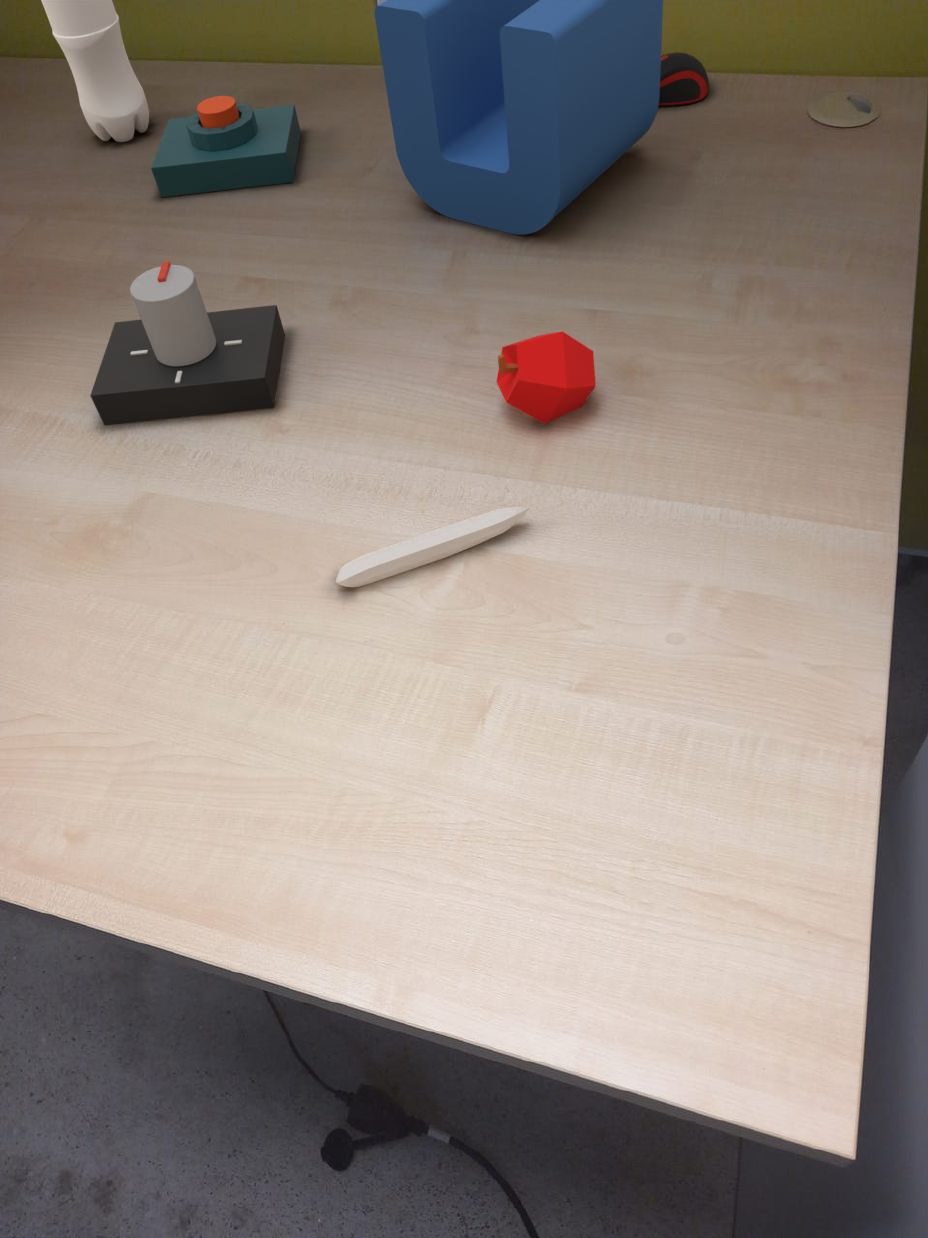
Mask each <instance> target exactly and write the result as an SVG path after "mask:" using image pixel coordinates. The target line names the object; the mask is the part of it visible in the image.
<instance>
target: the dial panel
mask: <svg viewBox="0 0 928 1238" xmlns="http://www.w3.org/2000/svg"><path fill="white" fill-rule="evenodd" d="M207 314H208V317H209V320H210V323H211V326H212V329H213V332H214V335H215V338H216V346H215V348H214V350H213V351H212V353H211V354H210V355H208V356H207V357H206V358H204V359H203V360H201V361H199V362H196V363H194V364H190V365H186V366H178V367H177V366H168V365H165V364H163V363H161V362H160V361H159V360H158V359H157V358H156V355H155V353H154V350H153V348H152V345H151V343H150V340H149V338H148V335H147V333H146V330H145V328H144V325H143V323H142V320H141V319H133V320H124V321H115V322H114V324H113V327H112V330H111V333H110V335H109V339H108V342H107V345H106V348H105V350H104V354H103V356H102V359H101V362H100V366H99V368H98V371H97V374H96V377H95V380H94V383H93V386H92V388H91V392H90V398H91V400H92V403H93V405H94V406H95V408H96V412H97V413H98V416H99V417H100V419H101V421H102V423H103V425H104V426H109V425H120V424H129V423H139V422H149V421H158V420H159V421H160V420H169V419H179V418H189V417H198V416H207V415H209V416H210V415H219V414H227V413H238V412H239V413H240V412H248V411H258V410H269V409H274V408H275V406H276V405H275V404H276V399H277V398H276V396H277V390H278V384H279V377H280V371H281V365H282V357H283V351H284V344H285V338H286V333H285V330H284V326H283V323H282V318H281V315H280V312H279V309H278V305H277V304H272V305H264V306H255V307H254V306H253V307H245V308H235V309H226V310H217V311H216V310H215V311H208V312H207Z"/></svg>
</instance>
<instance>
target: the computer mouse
mask: <svg viewBox="0 0 928 1238" xmlns="http://www.w3.org/2000/svg"><path fill="white" fill-rule="evenodd" d="M709 90H710V83H709V77H708V73H707V70H706V68H705V66H704V65H703V63H702V62H701V61H700V60H699V59H698V58H697V57H695V56H693V55H691V54H689V53H687V52H678V51H677V52H669V53H665V54H661V70H660V95H659V105H658V108H660V107H661V108H662V107H663V108H664V107H666V108H667V107H678V106H686V105H692V104H695V103H698V102H700V101H702V100H704V99H705V98H706V96H707V95H708V93H709Z"/></svg>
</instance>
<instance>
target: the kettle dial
mask: <svg viewBox="0 0 928 1238" xmlns="http://www.w3.org/2000/svg"><path fill="white" fill-rule="evenodd" d="M198 285H199V284H198V282H197V279H196V277H195V273H194V271H192V269H191V268H189V267H187V266H184V265H179V264H171V263H170V261H162V263H161V266H156V267H153V268H151V269H148V270H146V271H144V272H143V273H141V274H140V275H138V276H137V277H136V278H135V279H134V280H133V281H132V283H130V287H129V292H130V295H131V298H132V300H133V303H134V306H135V309H136V311H137V312H138V316H139V318H140V320H142V323H143V325H144V328H145V330H146V333H147V335H148V338H149V340H150V343H151V345H152V348H153V350H154V353H155V355H156V358H157V359H158V360H159V361H160V362H161V363H163V364H165V365H168V366H177V367H178V366H186V365H190V364H194V363H196V362H199V361H201V360H203V359H204V358H206V357H207V356H208V355H210V354H211V353H212V351H213V350H214V348H215V346H216V338H215V335H214V332H213V329H212V326H211V323H210V320H209V317H208V314H207V308H206V306H205V302H204V300H203V297H202V294H201V292H200V287H199V286H198Z"/></svg>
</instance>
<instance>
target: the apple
mask: <svg viewBox="0 0 928 1238" xmlns="http://www.w3.org/2000/svg"><path fill="white" fill-rule="evenodd" d="M497 361H498V362H497V363H498V365H497V366H498V370H497V376H496V385H497V386H498V389H499V391H500V393H501V395H502V397H503V399H504V402H505V403H506V404H508V405H509V406H511V407H513V408H515V409H517V410H518V411H520V412H522V413H524V414H525V415H527V416H528V417H529V416H530V417H531V418H533V419H535V420H537V421H538V422H540V423H542V424H544V425H545V424H548V423H550V422H553V421H554V420H557V419H559V418H561V417H563V416H565V415H568V414H570V413H573V412H574V411H577V410H578V409H581V408H583V406H584V404H585V402H586V401H587V399H588V398H589V397H590V395H591V393H592V392H593V391H594V390H595V387H596V386H597V383H596V371H595V370H596V369H595V358H594V351H593V350H592V349H590V348H589V347H588V346H586V345H584V344H583V343H582V342H580V341H579V340H577V339H576V338H573V337H572V336H571V335H569V334H567V333H566V332H564V331H557V332H556V331H555V332H551V333H545V334H540V335H536V336H533V337H529V338H526V339H523V340H520V341H517V342H513V343H510V344H507V345H504V346H502V347H501V352H500V354H499V355H497Z"/></svg>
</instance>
